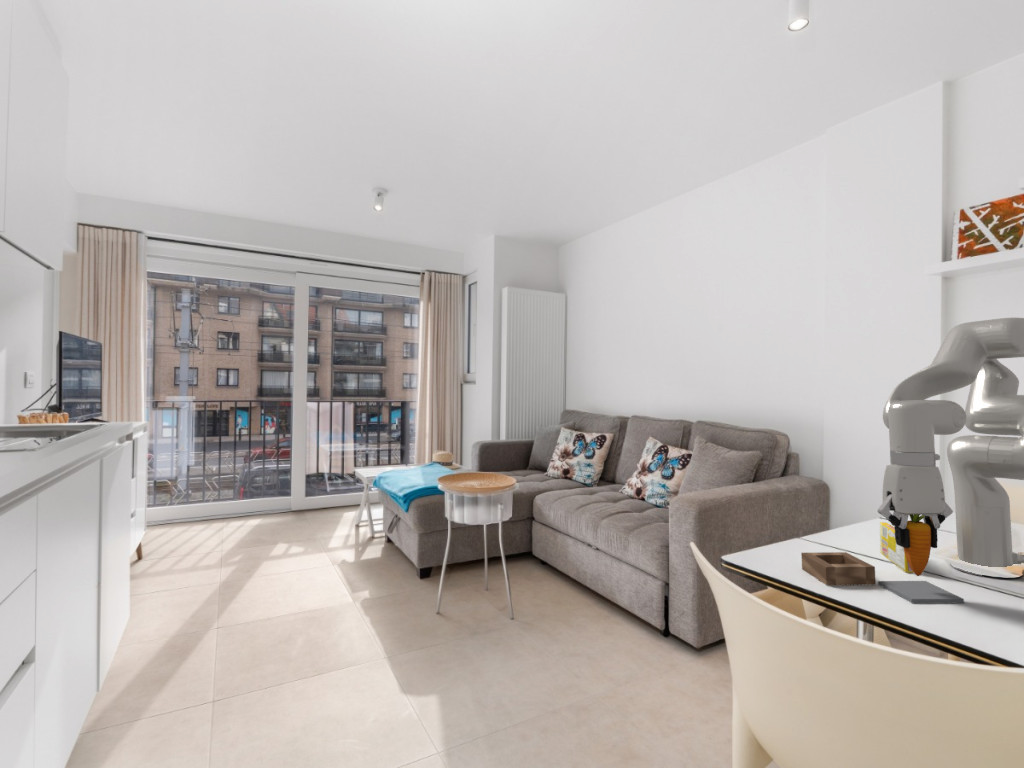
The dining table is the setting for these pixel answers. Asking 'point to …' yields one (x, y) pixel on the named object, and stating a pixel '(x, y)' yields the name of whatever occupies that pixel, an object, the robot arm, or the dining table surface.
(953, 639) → the dining table surface
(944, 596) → the rubber mat
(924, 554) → the carrot
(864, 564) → the walnut collar
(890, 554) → the candy box
